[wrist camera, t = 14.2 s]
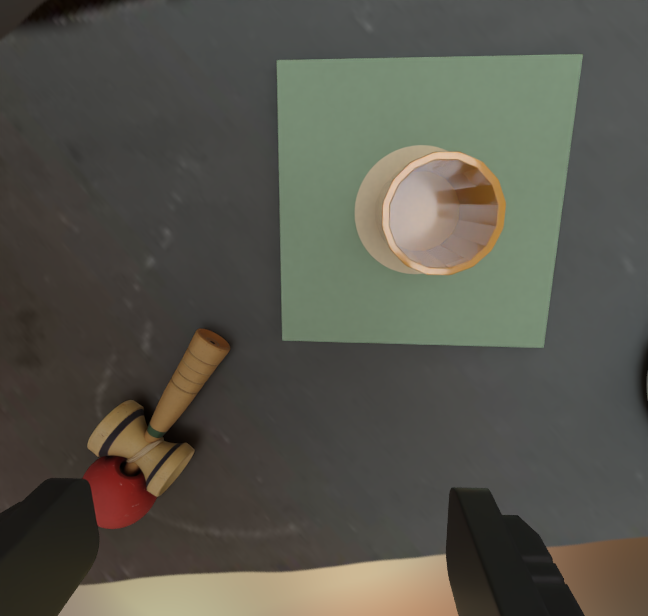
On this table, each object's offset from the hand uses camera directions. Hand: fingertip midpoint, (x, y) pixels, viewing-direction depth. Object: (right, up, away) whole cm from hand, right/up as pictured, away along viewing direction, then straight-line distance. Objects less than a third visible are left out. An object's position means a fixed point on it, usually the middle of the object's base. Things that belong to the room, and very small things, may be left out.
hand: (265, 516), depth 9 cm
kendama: (-12, -4, +27) cm, 30 cm away
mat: (+8, +12, +22) cm, 26 cm away
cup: (+8, +12, +21) cm, 25 cm away
